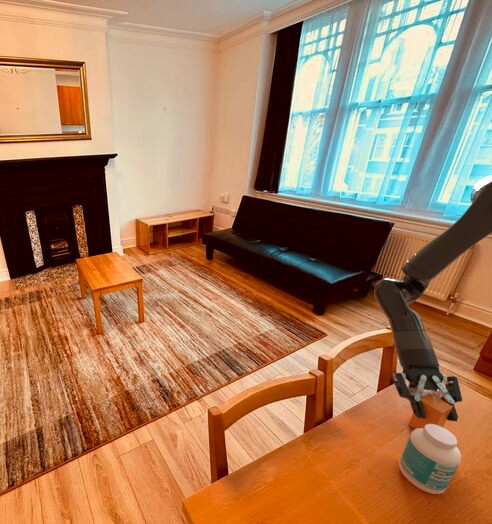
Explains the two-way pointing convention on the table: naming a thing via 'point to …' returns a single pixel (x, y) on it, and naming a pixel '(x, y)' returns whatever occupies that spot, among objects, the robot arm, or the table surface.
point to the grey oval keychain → (427, 393)
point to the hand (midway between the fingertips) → (436, 419)
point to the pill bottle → (430, 458)
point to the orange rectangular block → (432, 412)
